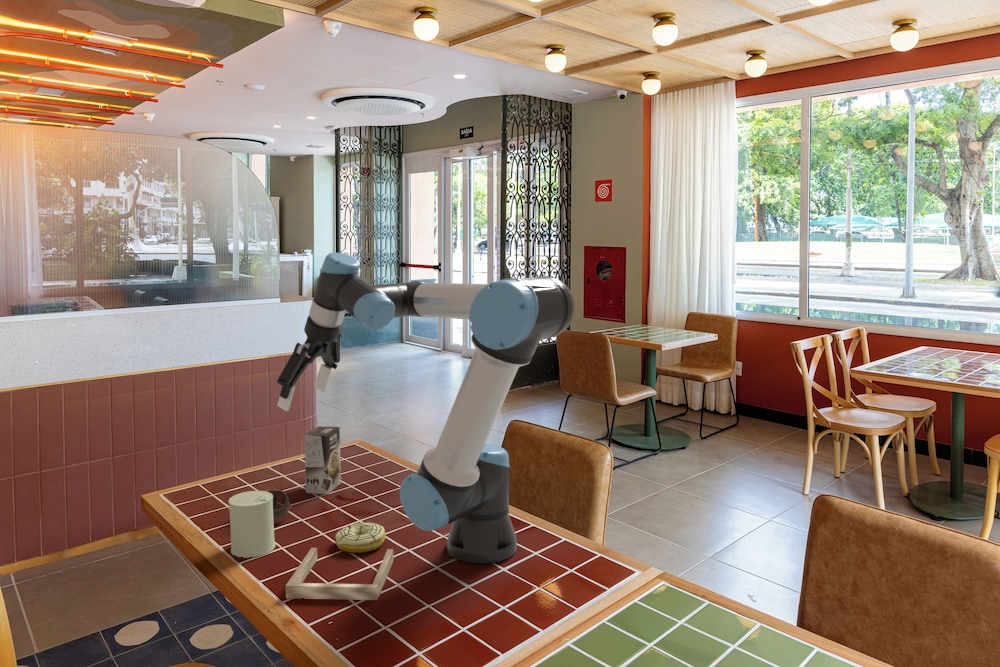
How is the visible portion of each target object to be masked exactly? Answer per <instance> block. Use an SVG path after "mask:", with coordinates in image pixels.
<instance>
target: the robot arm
mask: <svg viewBox="0 0 1000 667" xmlns="http://www.w3.org/2000/svg"><path fill="white" fill-rule="evenodd" d="M359 273H360V263H359V262H358V260H357V259H356V258H355V257H353V256H351V255H348V254H346V253H341V252H330V253H328V254H327V255H325V258H324V260H323V263H322V265H321V268H320V270H319V275H318V279H317V283H316V287H315V291H314V294H313V296H312V300H311V306H310V308H309V311H308V316H307V319H306V321H305V325H304V327H303V328H304V333H305V335H306V337H307V338H306V340H305V341H304V343H303V344H302V343H300V342H297V343H296V344H295V347H294V349H293V352H292V354H291V356H290V357H289V359H288V361H287V362H286V364H285V366H284V368H283V370H281V373H280V375H279V376H278V378H277V380H276V383H277V384H279V385H280V386H282V387H281V390H280V393H279V398H278V401H277V405H276V406H277V407H278V408H280V409H282V410H283V411H285V412H288V411H290V407H291V405H292V404H291V403H292V400H293V397H294V392H295V390H296V385H295V384H296V383H297V381H298V380H299V378H300V377H301V375H303V373H304V371H305V370H306V369H307V368H308V366H309V365H310V364H312V363H313V362H314V361H315V359H317V358H318V357H321V359H322V361H323V363H321V364H320V367H319V370H318V373H317V377H316V380H315V383H314V386H313V387H314V388H315V389H317V390H319V391H321V392H322V393H325V392H326V389H327V385H328V383H329V379H330V377H331V372H332V370H333V369H334V370H336V369H337V367H338V364H339V363H340V361H341V349H340V348H341V346H340V345H341V344H340V340H341V335H342V334H341V333H340V331H341V328H342V324H343V321H344V318H345V316H346V315H345V314H346V312H347V313H348V314H349V315H350V316H352V317H353V318H354V319H355V320H357V322H359V324H362V325H364V326H365V327H367V328H368V329H370V330H371V331H372V330H373V331H379V330H382V329H383V327H387V326H388V325H389V324H390V323H391V322H392V320H393V319H396V318H405V317H419V318H420V317H422V318H423V317H424V318H425V317H426V318H427V317H429V318H439V319H440V318H443V319H453V320H454V319H456V320H469V322H471V325H470V330H471V333H472V335H471V338H470V339H471V342H472V344H473V346H474V348H475V349H474V352H473V355H472V357H471V360H470V362H469V364H468V366H467V369H466V372H465V374H464V377H463V379H462V382H461V384H460V387H459V388H458V391H457V394H456V397H455V399H454V402H453V404H452V406H451V409H450V412H449V414H448V416H447V419H446V421H445V424H444V426H443V428H442V432H441V434H440V436H439V439H438V441H437V444H436V447H435V446H434V447H431V448H429V449H428V450H427V451H426V452H425V453H424V455H423V458H422V460H421V463H420V465H419V468H418V469H417V471H416V472H415V473H410V474H408V476H406V477H405V478H404V479H403V480H402V481H401V484H400V489H399V498H400V499H399V500H400V503H401V505H402V508H403V511H404V513H405V515H406V516H407V518H408V519H409V520H410V521H411V523H412V524H413V525H414V526H415V527H417V528H418V529H421V530H422V531H427V532H433V531H437V530H439V529H443V528H445V527H447V526H448V525H450V524H451V523H452V524H451V527H450V529H449V532H448V537H447V552H448V554H449V555H450V556H452V558H455V559H456V560H459V561H461V562H465V563H469V564H479V565H482V564H493V563H499V562H503V561H505V560H506V559H509V558H511V557H512V556H513V555H515V554H516V551H517V544H518V543H517V542H518V541H517V535H516V531H515V528H514V526H513V524H512V520H511V518H510V514H509V513H510V512H509V509H510V506H509V505H510V496H509V495H510V468H511V466H510V460H509V456H510V455H509V452H508V451H507V450H506V449H505V448H503V447H501V446H498V445H496V444H495V445H494V444H489V443H487V441H488V439H489V437H490V434H491V432H492V429H493V428H494V425H495V423H496V420H497V419H498V415H499V413H500V411H501V410H502V407H503V406H504V405H503V404H504V403H505V400H506V397H507V395H508V392H509V391H510V388H511V386H512V384H513V381H514V379H515V377H516V375H517V373H518V370H519V368H520V367H524V366H526V365H529V364H530V363H531V361H532V359H533V357H534V355H535V352H536V350H537V348H538V346H539V343H540V342H541V341H543V340H547V339H551V338H555V337H557V336H559V335H561V334H562V333H563V332H564V331H565V330H567V328H568V327H569V326H570V324H572V321H573V318H574V316H575V310H576V303H575V298H574V296H573V293H572V291H571V290H570V288H569V287H568V286H567V285H566V283H564V282H563V281H561V280H560V279H557V278H555V277H551V276H544V275H543V276H542V275H541V276H533V277H524V278H515V277H514V278H512V277H510V278H509V277H507V278H503V279H500V280H496V281H492V282H491V283H490V282H489V283H455V282H454V283H453V282H450V283H448V282H426V281H415V280H413V281H408V282H400V283H399V282H398V283H386V284H370V283H369V282H367V281H366V280H365V279H363V278H362V277H360V276H359V275H358V274H359Z"/></svg>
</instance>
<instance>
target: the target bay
mask: <svg viewBox="0 0 1000 667" xmlns="http://www.w3.org/2000/svg"><path fill="white" fill-rule="evenodd" d="M317 560H318V548H317V547H311V548H310V549H309V550H308V552H307V554H306V555H305V556H304V558H303V560H302V561H301V563H300V564H299V566H298V567H297V568H296V570H295V571H294V573H292V576H291V577H290V579H288V581H287V583H286V584H285V586H284V588H285V598H286V599H300V600H301V599H302V598H304V599H305V600H307V599H308V600H347V601H348V600H350V601H353V600H354V601H357V600H358V601H378V599H379V598H380V594H381V592H382V590H383V587H384V585H385V582H386V580H387V578H388V576H389V573H390V570H391V568H392V565H393V562H394V560H395V559H394V549H392V548H388V549H386V552H385V554H384V557H383V558H382V562H381V563H380V566H379V568H378V570H377V572H376V575H375V577H374V579H373V582H372V583H371V584H370V583H369V584H367V583H322V582H321V583H318V582H317V583H316V582H314V583H313V582H304V581H305V579H306V578H307V576H308V574H309V573H310V572H311V570H312V569H313V567H314V565H315V564H316V563H317ZM304 599H303V600H304Z"/></svg>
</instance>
